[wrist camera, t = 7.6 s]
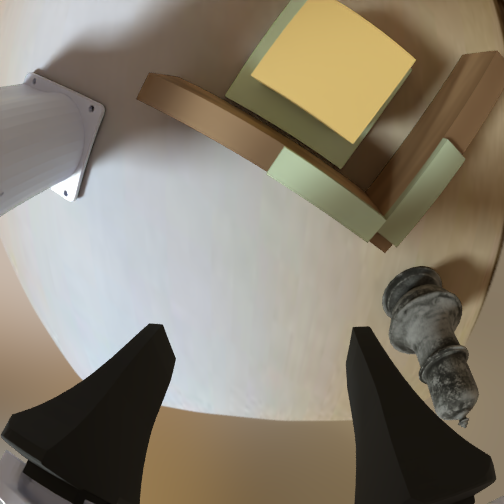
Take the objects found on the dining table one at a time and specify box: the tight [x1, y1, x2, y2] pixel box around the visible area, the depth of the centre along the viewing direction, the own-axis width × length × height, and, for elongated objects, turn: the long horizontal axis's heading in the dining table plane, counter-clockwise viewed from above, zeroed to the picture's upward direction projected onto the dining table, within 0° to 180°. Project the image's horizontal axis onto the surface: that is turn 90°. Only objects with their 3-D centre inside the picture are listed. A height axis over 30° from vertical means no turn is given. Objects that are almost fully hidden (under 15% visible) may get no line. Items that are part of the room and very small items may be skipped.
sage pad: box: [225, 0, 412, 169], centre depth 14 cm, size 8×8×1 cm
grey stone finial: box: [382, 266, 479, 428], centre depth 15 cm, size 6×6×12 cm
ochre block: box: [251, 0, 416, 144], centre depth 12 cm, size 5×5×5 cm
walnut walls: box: [136, 51, 504, 253], centre depth 12 cm, size 15×14×4 cm
